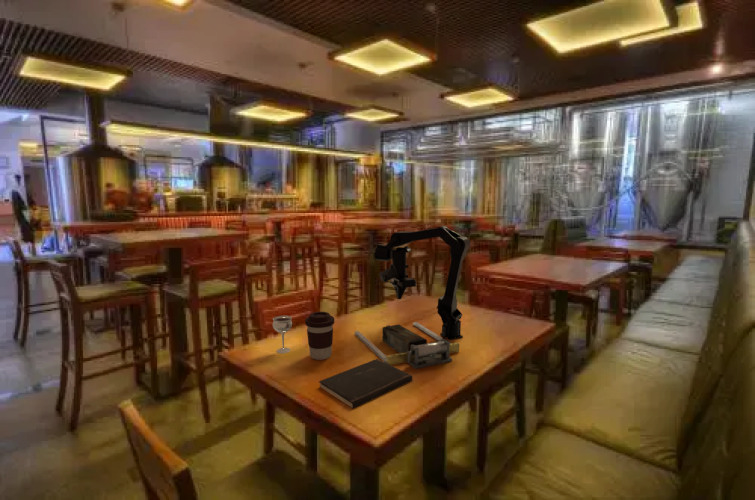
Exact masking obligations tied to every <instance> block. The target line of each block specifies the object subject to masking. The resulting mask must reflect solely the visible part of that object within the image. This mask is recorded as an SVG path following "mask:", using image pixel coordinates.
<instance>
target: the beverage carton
mask: <svg viewBox="0 0 755 500" xmlns="http://www.w3.org/2000/svg"><path fill="white" fill-rule="evenodd" d="M381 331H382V332H381V333H382V335H381V338H382V343H384V344H385V345H387V346H388V347H389V348H392V349H393V350H394V351H396V352H398V353H404V352H407V351H411V345H415V346H417V345H422V344H427V343H428V340H427V339H426V338H425V337H422V336H420V335H419V334H417V333H415V332H413V331H411V330H410V329H408V328H406V327H404V326H402V325H401V324H395V325H390V324H388V325H386V326H383V327H382V329H381Z"/></svg>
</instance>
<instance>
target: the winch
mask: <svg viewBox="0 0 755 500" xmlns="http://www.w3.org/2000/svg"><path fill="white" fill-rule="evenodd" d="M450 343H451V342H450V341H449V340H448V339H445V338H443V339H442V341H435V342H429V343H428V342H427V344H422V345H417V346H415V345H411V351H407V352H406V362H405V363H407V364H409V365H410V366H411V367H412V368H413V369H414V370H417V369H421V368H422V369H423V368H426V367H427V368H428V367H431V366H435V365H436V366H437V365H440V364H445V363H450V362H453V361H452V360H453V358H452V357H451V356H450V353H449V345H450Z"/></svg>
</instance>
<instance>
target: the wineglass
mask: <svg viewBox="0 0 755 500" xmlns="http://www.w3.org/2000/svg"><path fill="white" fill-rule="evenodd" d="M292 319H293V317H292V316H290V315H285V314H284V315H278V316H274V317H273V318H272V320H273V322H272V328H273V329H274V330H275V331H276V332H277V333H279V334H281V340H282V341H281V343H282V347H281V348H278V349H276V353H277V354H286V353H289V352H291V348H289V347H285V334H286V333H288V332H289V331H290V330H291V328H292V326H293V322H292Z"/></svg>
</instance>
